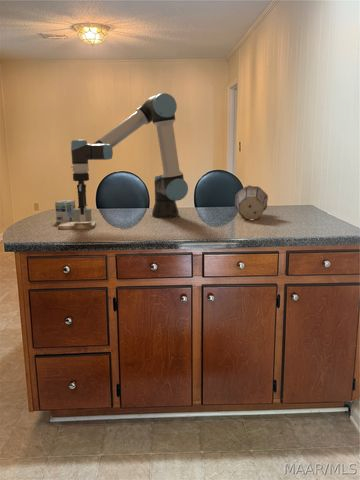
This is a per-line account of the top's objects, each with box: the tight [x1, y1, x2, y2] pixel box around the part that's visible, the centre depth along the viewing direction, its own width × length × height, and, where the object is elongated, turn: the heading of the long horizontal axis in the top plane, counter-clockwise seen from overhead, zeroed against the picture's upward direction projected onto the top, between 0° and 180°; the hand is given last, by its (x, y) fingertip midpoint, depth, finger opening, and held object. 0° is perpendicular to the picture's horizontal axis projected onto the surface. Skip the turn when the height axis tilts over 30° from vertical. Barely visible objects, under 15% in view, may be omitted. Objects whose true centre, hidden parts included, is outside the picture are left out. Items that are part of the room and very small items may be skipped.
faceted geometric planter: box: [234, 184, 269, 220], centre depth 229 cm, size 18×18×30 cm
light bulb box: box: [54, 199, 76, 223], centre depth 220 cm, size 11×7×11 cm, turn 168°
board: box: [57, 220, 97, 230], centre depth 205 cm, size 17×11×2 cm, turn 97°
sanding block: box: [73, 207, 92, 222], centre depth 204 cm, size 8×5×6 cm, turn 97°
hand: (83, 219), depth 204 cm, fingers closed on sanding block, 5 cm apart
